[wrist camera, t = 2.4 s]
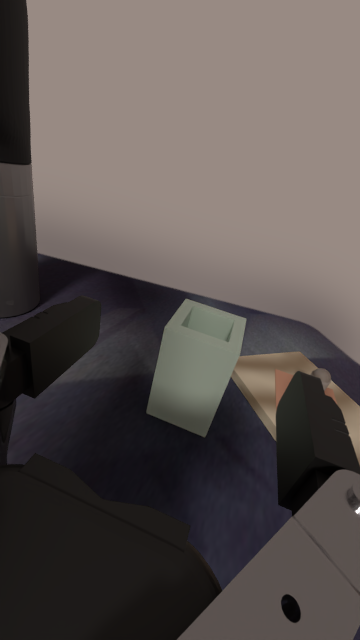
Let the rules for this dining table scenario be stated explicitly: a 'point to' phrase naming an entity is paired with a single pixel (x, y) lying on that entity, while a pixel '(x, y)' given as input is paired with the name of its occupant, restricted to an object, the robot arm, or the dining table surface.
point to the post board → (274, 377)
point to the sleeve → (195, 365)
